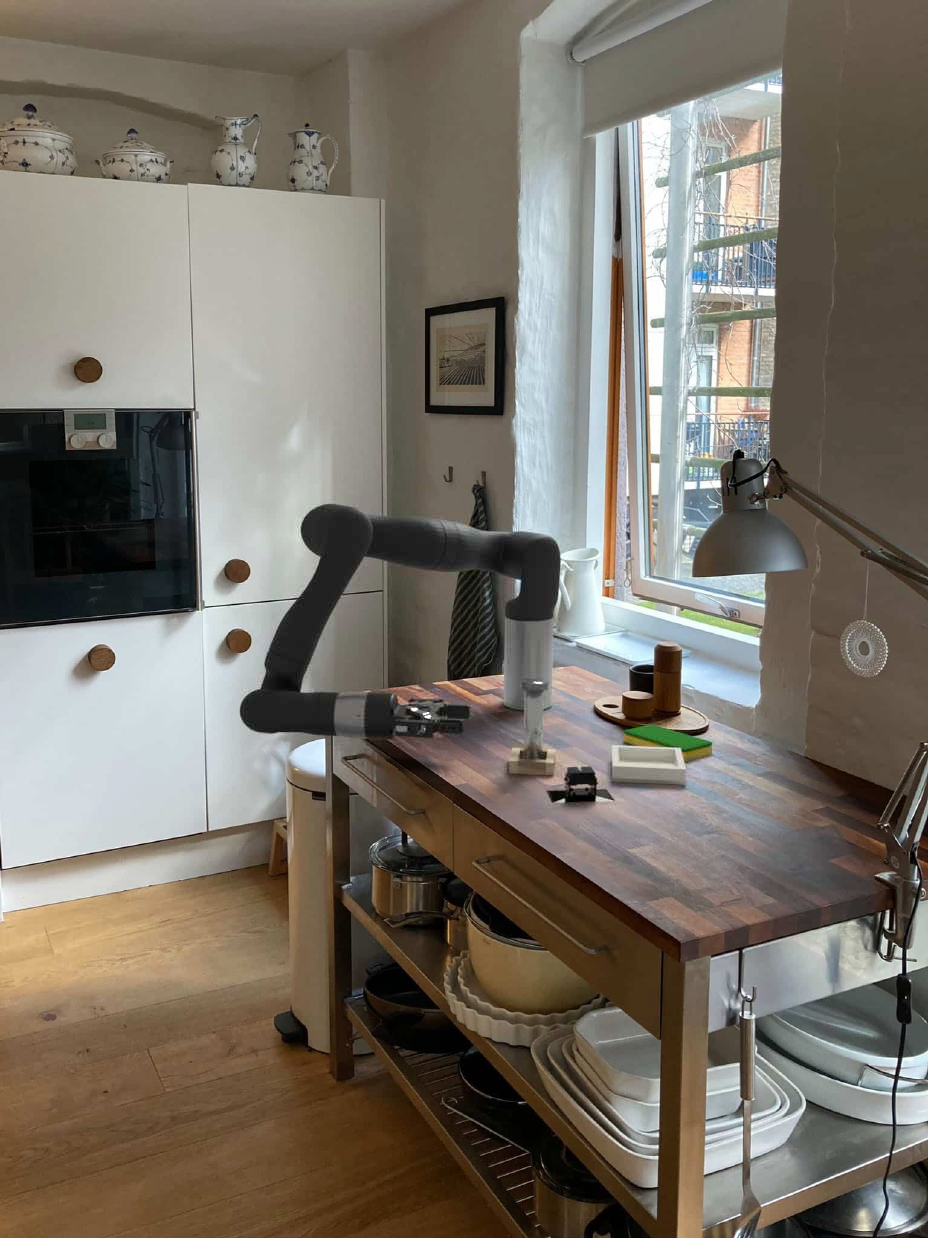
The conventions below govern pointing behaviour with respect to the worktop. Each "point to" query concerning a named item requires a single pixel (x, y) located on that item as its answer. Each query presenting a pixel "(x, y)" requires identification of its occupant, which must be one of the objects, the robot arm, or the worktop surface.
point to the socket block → (532, 762)
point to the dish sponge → (668, 740)
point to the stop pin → (533, 717)
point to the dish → (648, 765)
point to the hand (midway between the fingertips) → (466, 719)
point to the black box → (580, 794)
